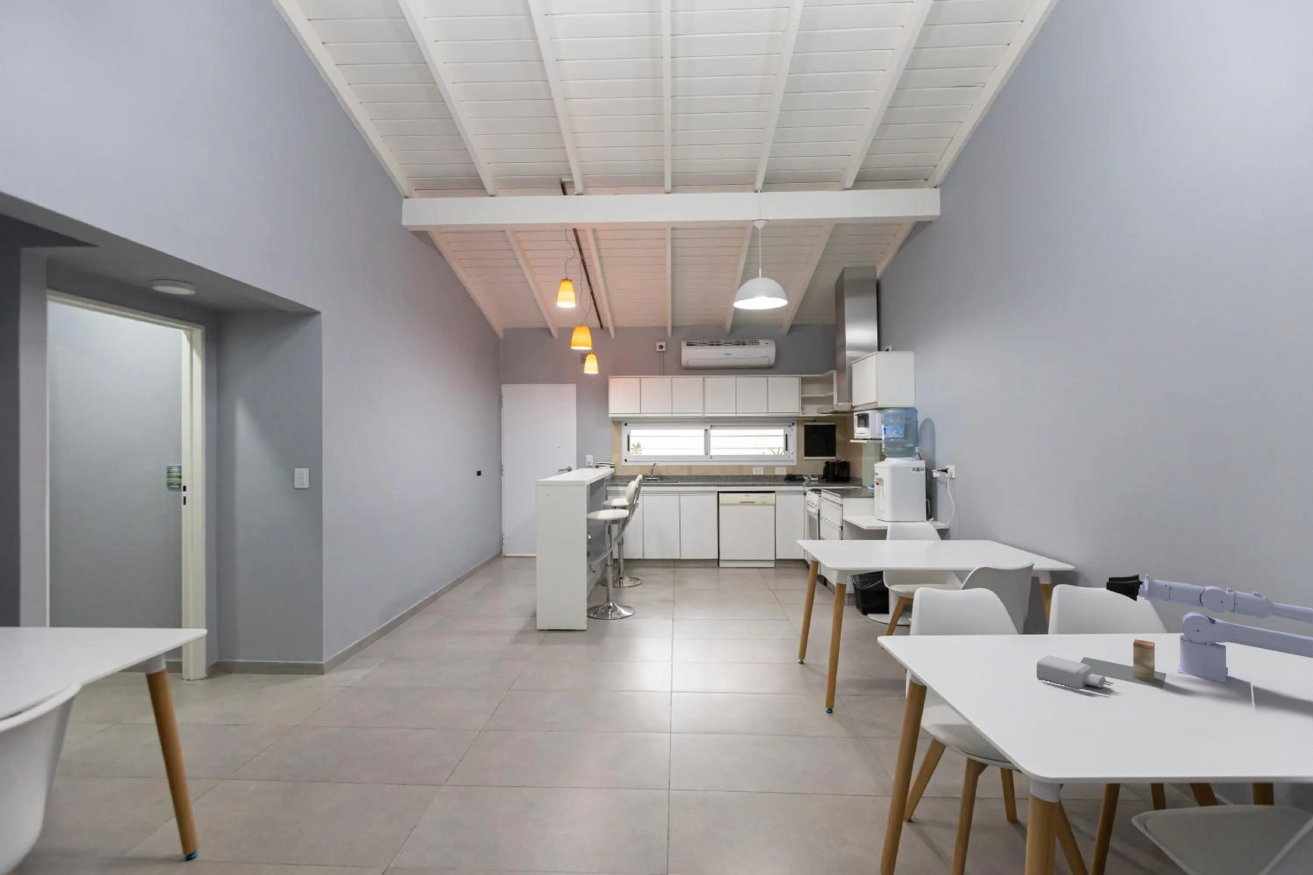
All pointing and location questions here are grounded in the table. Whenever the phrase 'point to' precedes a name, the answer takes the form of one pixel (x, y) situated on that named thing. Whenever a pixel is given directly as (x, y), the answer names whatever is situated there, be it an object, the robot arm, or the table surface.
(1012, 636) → the table surface
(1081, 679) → the charger
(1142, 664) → the maple block
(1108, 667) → the rubber mat
